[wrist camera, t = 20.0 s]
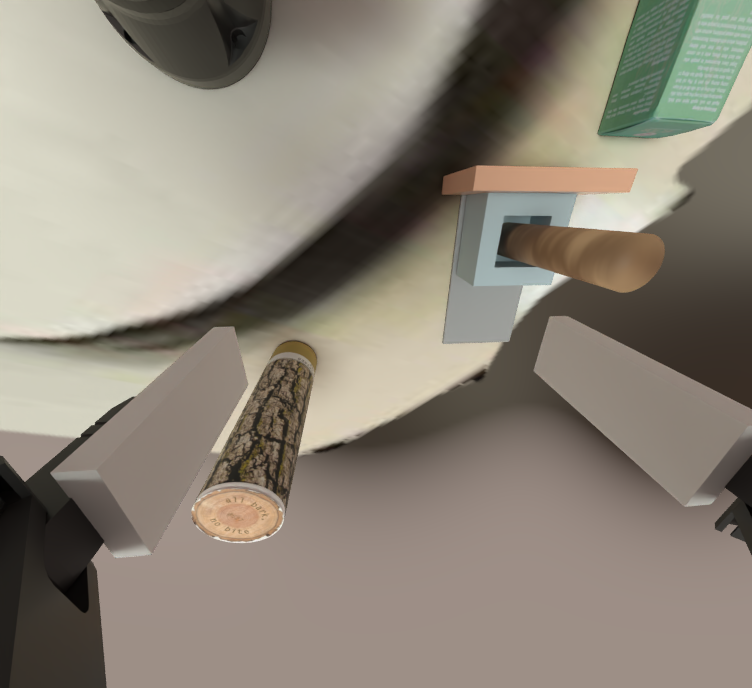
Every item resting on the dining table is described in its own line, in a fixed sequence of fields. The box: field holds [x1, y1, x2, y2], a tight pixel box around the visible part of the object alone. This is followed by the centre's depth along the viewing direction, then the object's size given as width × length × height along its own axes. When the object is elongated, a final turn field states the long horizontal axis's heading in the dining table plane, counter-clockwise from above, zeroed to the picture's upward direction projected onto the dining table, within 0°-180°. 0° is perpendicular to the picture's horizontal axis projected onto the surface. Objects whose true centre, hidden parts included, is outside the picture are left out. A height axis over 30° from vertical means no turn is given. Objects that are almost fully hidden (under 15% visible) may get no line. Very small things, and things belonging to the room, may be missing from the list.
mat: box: [442, 195, 523, 344], centre depth 40 cm, size 23×11×1 cm, turn 0°
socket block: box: [456, 193, 577, 286], centre depth 35 cm, size 10×10×6 cm
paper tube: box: [191, 341, 317, 543], centre depth 32 cm, size 7×7×25 cm
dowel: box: [497, 222, 665, 292], centre depth 27 cm, size 4×4×18 cm
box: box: [598, 0, 752, 138], centre depth 28 cm, size 7×14×8 cm, turn 179°
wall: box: [442, 166, 638, 195], centre depth 31 cm, size 2×16×10 cm, turn 90°
